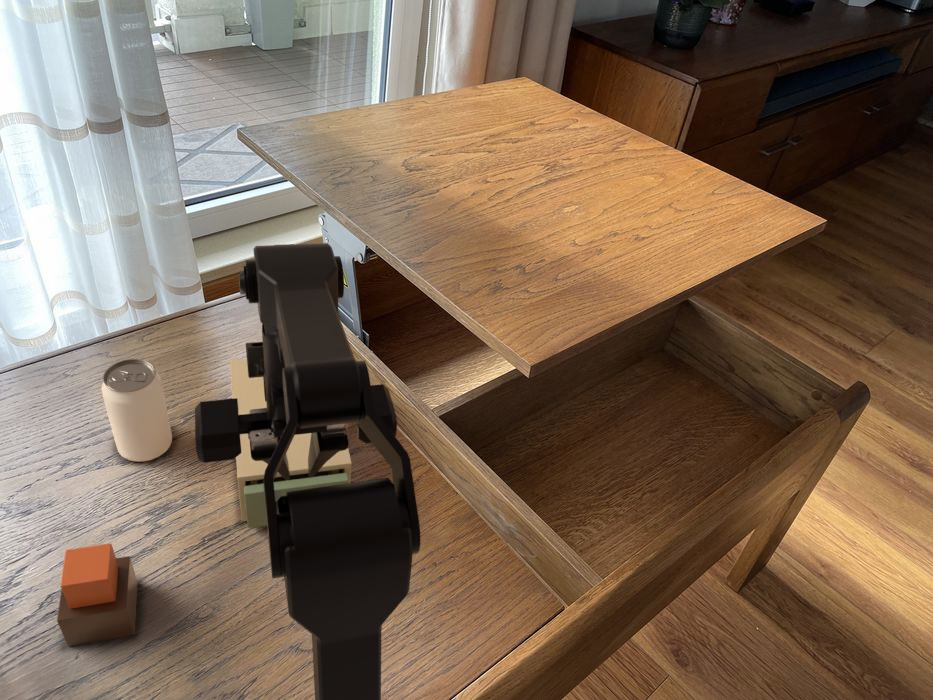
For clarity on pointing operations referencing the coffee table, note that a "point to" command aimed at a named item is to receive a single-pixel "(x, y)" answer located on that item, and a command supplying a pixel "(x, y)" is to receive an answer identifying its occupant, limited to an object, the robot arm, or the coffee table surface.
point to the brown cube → (102, 612)
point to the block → (89, 576)
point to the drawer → (284, 491)
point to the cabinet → (298, 451)
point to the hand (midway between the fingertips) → (299, 475)
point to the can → (136, 410)
